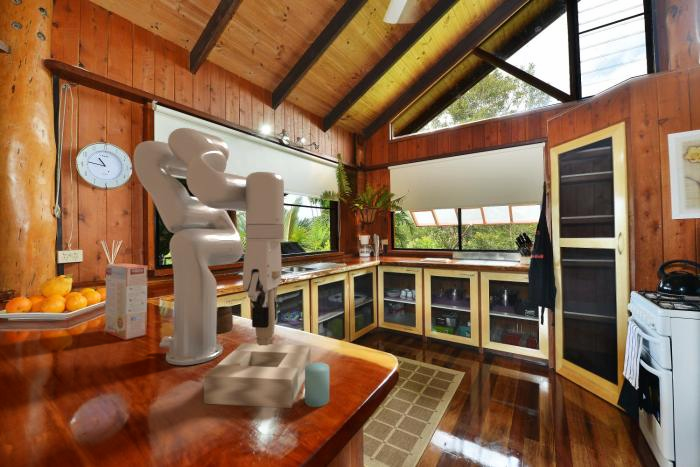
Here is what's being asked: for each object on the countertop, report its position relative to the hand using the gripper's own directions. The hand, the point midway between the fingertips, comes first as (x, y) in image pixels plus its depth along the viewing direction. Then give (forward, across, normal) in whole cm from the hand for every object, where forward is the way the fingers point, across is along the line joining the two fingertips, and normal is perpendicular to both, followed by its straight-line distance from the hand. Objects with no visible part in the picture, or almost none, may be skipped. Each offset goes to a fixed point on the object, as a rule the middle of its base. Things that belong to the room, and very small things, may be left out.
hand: (264, 322), depth 61 cm
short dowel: (+13, +5, +12) cm, 18 cm away
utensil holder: (+12, -31, -25) cm, 42 cm away
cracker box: (+12, -25, -52) cm, 59 cm away
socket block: (+12, 0, 0) cm, 12 cm away
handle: (+4, 0, 0) cm, 4 cm away
